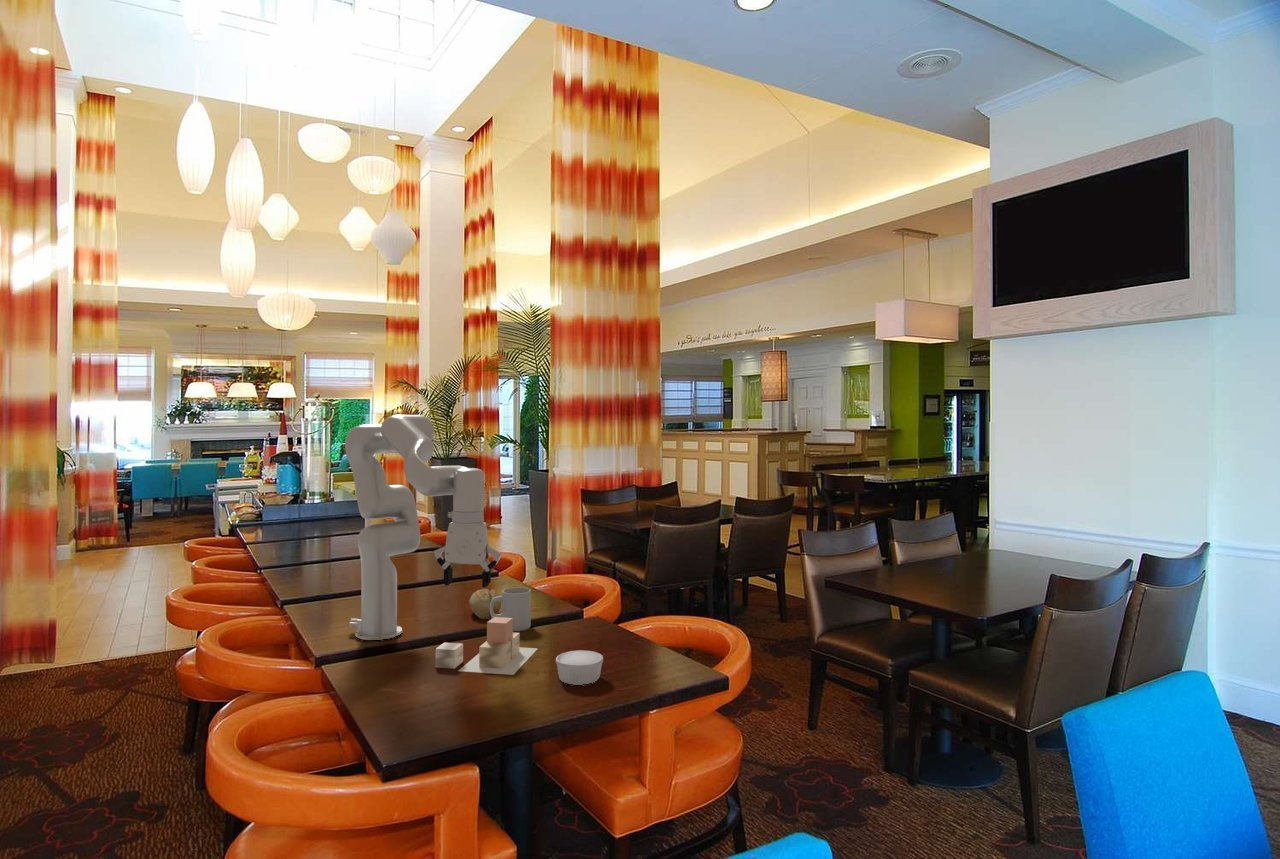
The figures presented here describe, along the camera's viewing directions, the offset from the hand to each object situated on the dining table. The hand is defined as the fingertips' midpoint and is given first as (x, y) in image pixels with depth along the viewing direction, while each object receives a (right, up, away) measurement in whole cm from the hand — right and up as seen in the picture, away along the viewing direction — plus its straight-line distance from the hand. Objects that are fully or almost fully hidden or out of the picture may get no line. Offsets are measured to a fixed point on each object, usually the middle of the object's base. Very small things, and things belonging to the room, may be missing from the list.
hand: (467, 585), depth 177 cm
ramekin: (+29, -21, -10) cm, 37 cm away
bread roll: (-5, -20, +46) cm, 50 cm away
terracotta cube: (+8, -15, +3) cm, 17 cm away
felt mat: (+8, -20, +3) cm, 21 cm away
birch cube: (-4, -20, -1) cm, 20 cm away
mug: (+5, -20, +32) cm, 38 cm away
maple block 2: (+8, -20, +6) cm, 22 cm away
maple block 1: (+7, -20, -1) cm, 21 cm away
